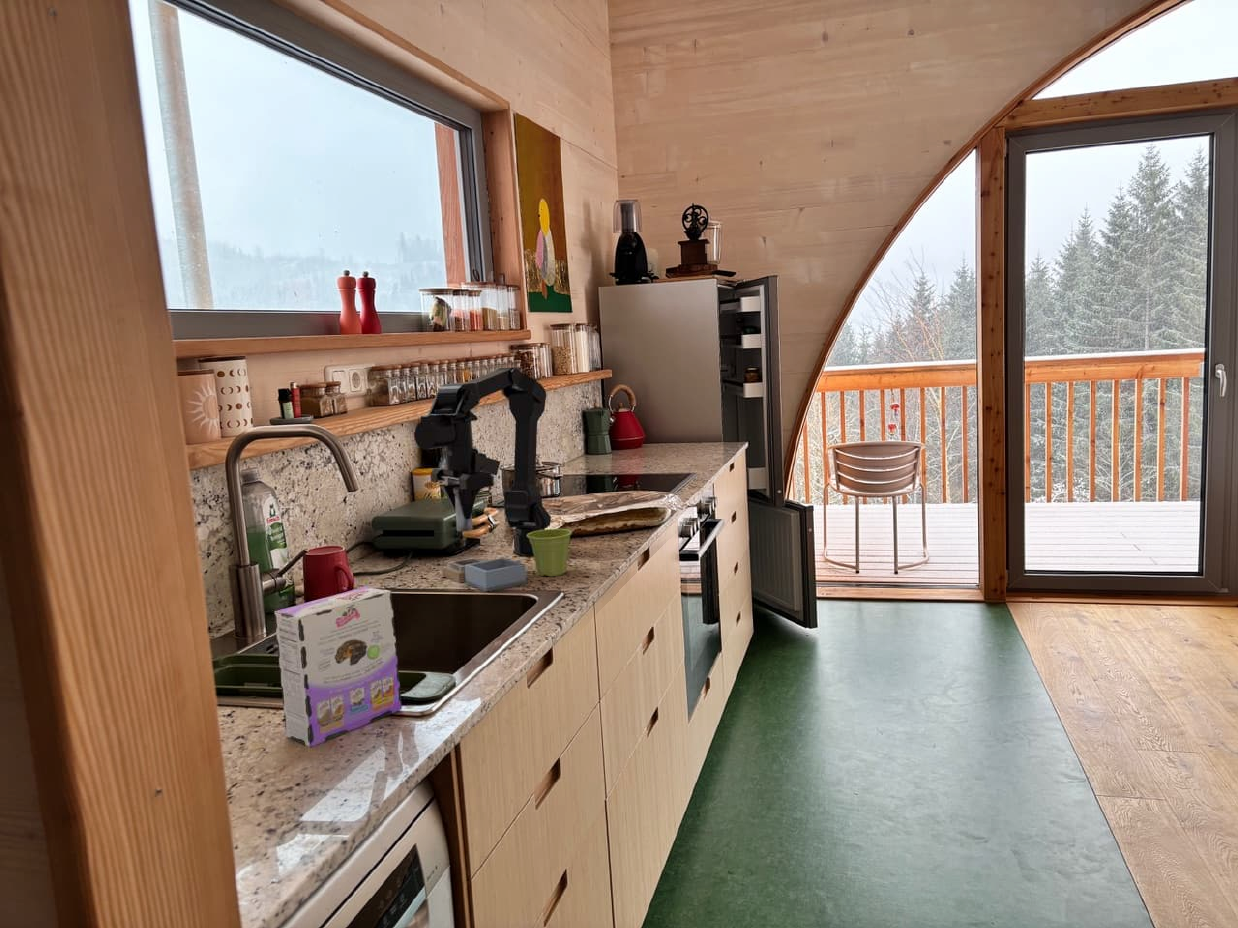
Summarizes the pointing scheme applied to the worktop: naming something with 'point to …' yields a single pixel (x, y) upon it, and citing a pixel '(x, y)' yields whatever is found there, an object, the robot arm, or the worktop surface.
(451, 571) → the beige shallow open box
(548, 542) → the plant pot
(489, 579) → the bin
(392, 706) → the candy box
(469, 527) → the glass spice jar
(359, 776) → the worktop surface
